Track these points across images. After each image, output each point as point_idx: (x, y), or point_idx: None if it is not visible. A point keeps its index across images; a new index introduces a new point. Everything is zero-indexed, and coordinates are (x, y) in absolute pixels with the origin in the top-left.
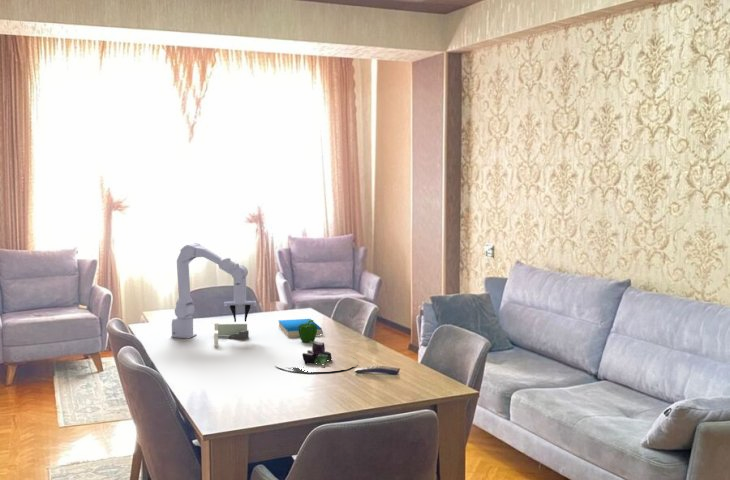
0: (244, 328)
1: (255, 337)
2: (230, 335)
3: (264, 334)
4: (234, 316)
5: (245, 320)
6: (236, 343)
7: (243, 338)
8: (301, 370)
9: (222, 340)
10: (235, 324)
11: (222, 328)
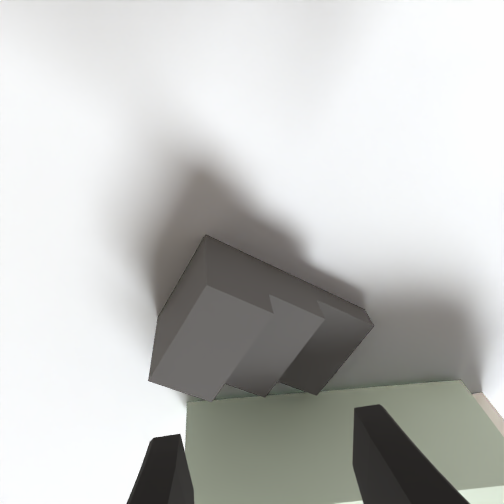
0: (214, 463)
1: (88, 349)
2: (355, 345)
3: (27, 454)
4: (445, 500)
5: (161, 451)
6: (278, 51)
7: (204, 246)
8: None
9: (436, 228)
10: (328, 500)
11: (457, 443)
